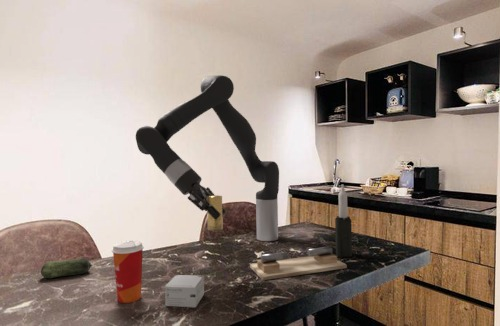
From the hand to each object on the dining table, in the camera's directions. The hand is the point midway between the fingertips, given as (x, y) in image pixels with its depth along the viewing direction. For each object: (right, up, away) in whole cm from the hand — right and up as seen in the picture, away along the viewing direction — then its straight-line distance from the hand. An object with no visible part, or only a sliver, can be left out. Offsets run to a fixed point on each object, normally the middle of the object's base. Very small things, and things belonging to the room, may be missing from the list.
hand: (220, 215), depth 100 cm
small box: (-7, -19, -18) cm, 27 cm away
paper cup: (-22, -19, -16) cm, 33 cm away
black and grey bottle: (+42, -17, +16) cm, 48 cm away
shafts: (+24, -14, +4) cm, 28 cm away
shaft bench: (+24, -17, +4) cm, 30 cm away
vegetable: (-48, -19, +1) cm, 51 cm away
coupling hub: (-2, -4, 0) cm, 5 cm away
